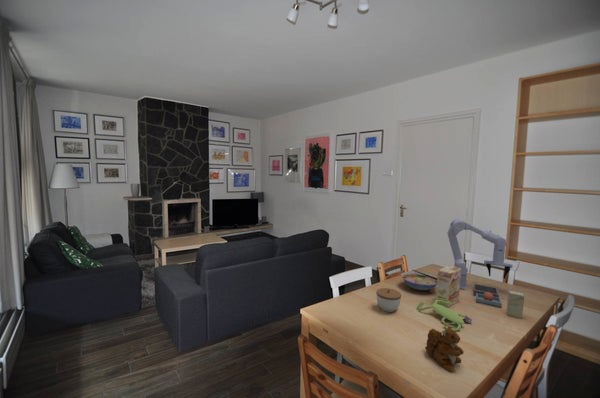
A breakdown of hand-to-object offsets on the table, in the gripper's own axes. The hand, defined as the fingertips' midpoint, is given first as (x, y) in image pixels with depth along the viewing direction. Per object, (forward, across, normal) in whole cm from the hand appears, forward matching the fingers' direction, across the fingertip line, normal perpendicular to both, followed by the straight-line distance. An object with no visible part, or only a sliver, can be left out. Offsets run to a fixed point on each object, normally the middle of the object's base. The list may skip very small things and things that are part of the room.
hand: (496, 276), depth 179 cm
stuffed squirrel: (+10, -23, -94) cm, 98 cm away
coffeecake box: (+10, -25, -35) cm, 44 cm away
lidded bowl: (+10, -52, -63) cm, 82 cm away
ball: (+6, -5, -22) cm, 23 cm away
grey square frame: (+9, -6, -10) cm, 15 cm away
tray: (+9, -5, -22) cm, 24 cm away
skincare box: (+10, +6, -33) cm, 35 cm away
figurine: (+10, -26, -55) cm, 62 cm away
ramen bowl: (+10, -42, -23) cm, 49 cm away
